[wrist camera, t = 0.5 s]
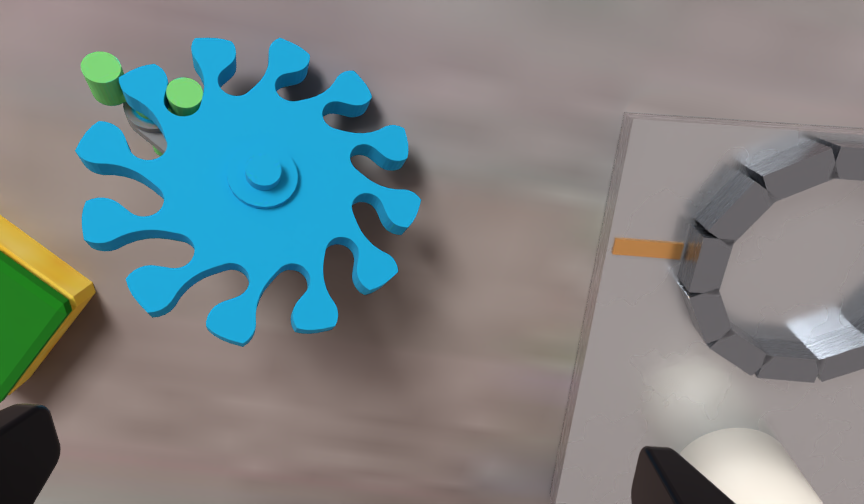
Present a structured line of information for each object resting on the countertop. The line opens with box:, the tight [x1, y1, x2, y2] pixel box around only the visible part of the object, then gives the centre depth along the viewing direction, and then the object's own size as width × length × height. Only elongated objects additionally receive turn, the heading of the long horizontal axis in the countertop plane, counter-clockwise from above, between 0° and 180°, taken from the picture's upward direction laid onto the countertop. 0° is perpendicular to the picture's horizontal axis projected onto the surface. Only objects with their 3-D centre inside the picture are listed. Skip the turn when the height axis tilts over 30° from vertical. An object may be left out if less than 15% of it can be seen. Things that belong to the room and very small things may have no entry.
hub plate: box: [550, 113, 864, 504], centre depth 21 cm, size 18×14×2 cm
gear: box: [75, 38, 421, 347], centre depth 19 cm, size 11×6×10 cm
